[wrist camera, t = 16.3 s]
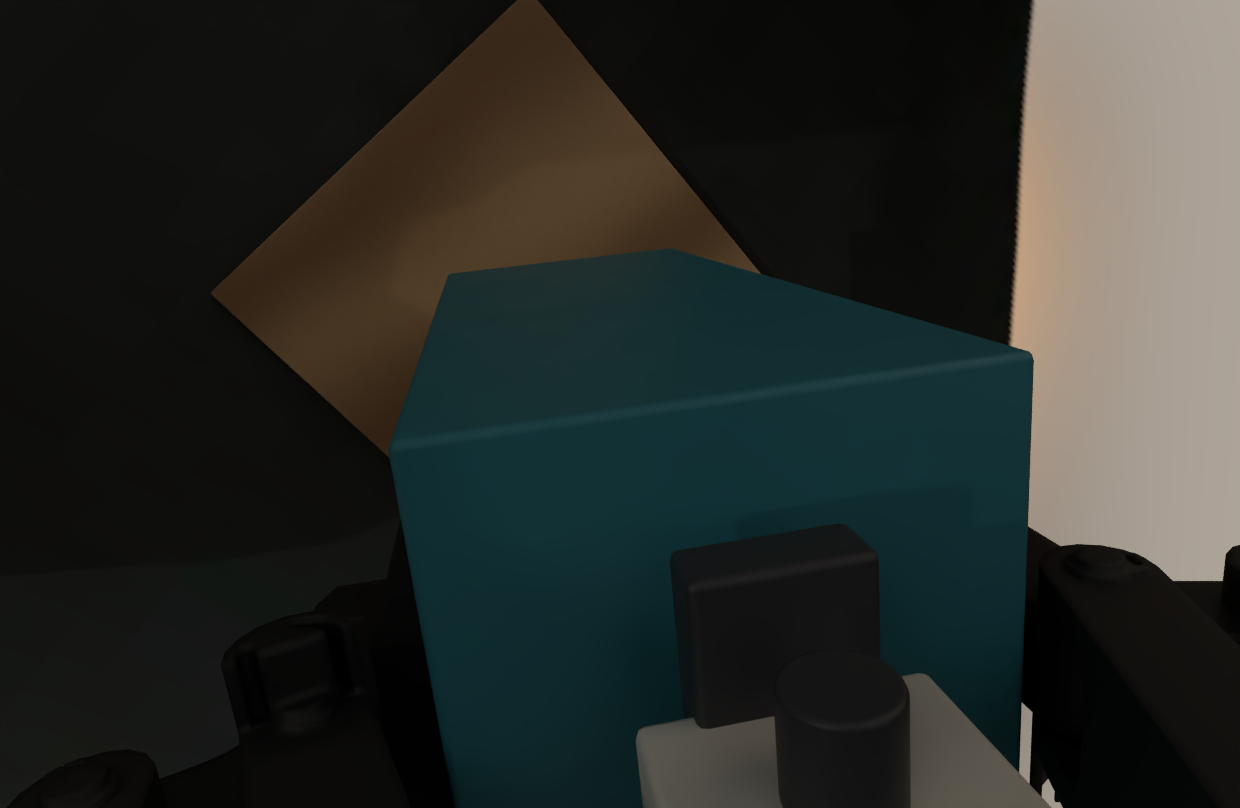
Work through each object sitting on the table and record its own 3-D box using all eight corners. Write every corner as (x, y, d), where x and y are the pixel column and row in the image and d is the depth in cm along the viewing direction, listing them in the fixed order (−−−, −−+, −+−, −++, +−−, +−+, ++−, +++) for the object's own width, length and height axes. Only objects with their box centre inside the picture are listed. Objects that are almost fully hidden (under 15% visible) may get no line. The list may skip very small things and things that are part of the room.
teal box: (500, 618, 24) (446, 273, 21) (700, 583, 25) (672, 247, 22) (558, 1676, 7) (326, 603, 4) (1196, 1454, 8) (1339, 435, 5)
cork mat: (213, 291, 32) (209, 293, 32) (527, -9, 32) (528, -12, 31) (556, 607, 38) (557, 612, 38) (829, 360, 38) (833, 362, 37)
